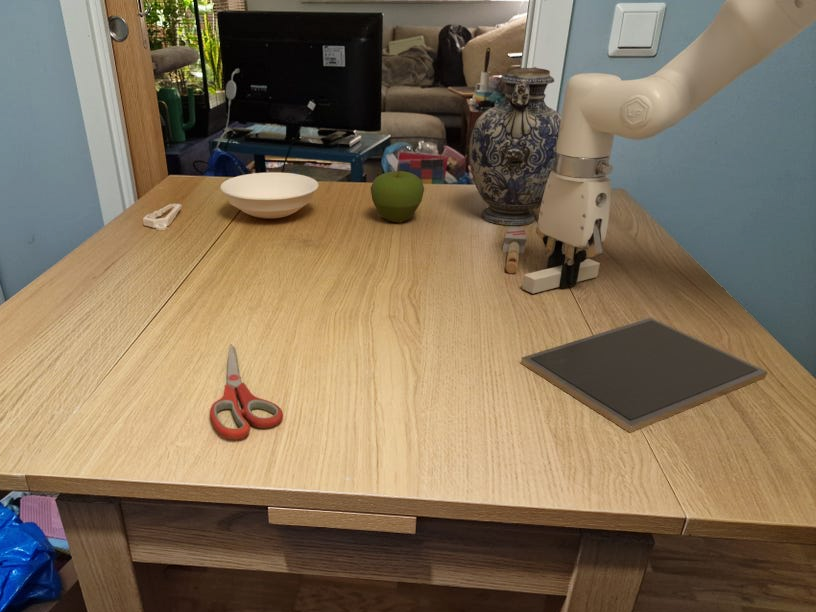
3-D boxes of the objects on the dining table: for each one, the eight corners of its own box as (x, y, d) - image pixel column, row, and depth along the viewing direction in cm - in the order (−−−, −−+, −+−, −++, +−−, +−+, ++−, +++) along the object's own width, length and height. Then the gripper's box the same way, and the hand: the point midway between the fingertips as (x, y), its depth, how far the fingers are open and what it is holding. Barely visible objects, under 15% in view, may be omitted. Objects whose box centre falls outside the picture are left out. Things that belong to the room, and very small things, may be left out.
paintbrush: (528, 220, 124) (523, 262, 108) (526, 234, 126) (521, 277, 109) (507, 218, 125) (499, 260, 109) (506, 232, 127) (497, 275, 110)
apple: (376, 210, 140) (377, 162, 135) (425, 214, 138) (429, 165, 133) (364, 225, 131) (365, 175, 126) (417, 230, 129) (420, 179, 124)
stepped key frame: (159, 210, 140) (158, 202, 139) (183, 210, 140) (182, 202, 139) (140, 230, 129) (138, 221, 128) (165, 230, 129) (164, 221, 128)
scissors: (235, 345, 88) (234, 335, 87) (291, 429, 71) (290, 418, 71) (177, 356, 85) (176, 346, 85) (222, 447, 69) (220, 436, 68)
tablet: (649, 323, 94) (650, 316, 93) (765, 377, 81) (768, 370, 80) (520, 363, 84) (521, 356, 83) (629, 433, 71) (631, 425, 70)
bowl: (209, 227, 130) (206, 195, 127) (238, 199, 147) (236, 170, 144) (308, 233, 127) (308, 200, 124) (326, 203, 144) (326, 174, 141)
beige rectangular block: (586, 272, 110) (588, 258, 108) (597, 277, 108) (600, 263, 107) (521, 288, 104) (523, 274, 103) (532, 294, 102) (534, 279, 101)
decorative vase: (551, 240, 124) (578, 79, 110) (453, 228, 130) (467, 74, 116) (559, 208, 141) (584, 65, 128) (472, 199, 147) (487, 62, 133)
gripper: (644, 174, 92) (617, 295, 101) (559, 152, 104) (541, 262, 114) (605, 181, 89) (581, 305, 98) (522, 157, 101) (508, 270, 110)
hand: (560, 281), depth 106 cm, fingers closed on beige rectangular block, 2 cm apart
